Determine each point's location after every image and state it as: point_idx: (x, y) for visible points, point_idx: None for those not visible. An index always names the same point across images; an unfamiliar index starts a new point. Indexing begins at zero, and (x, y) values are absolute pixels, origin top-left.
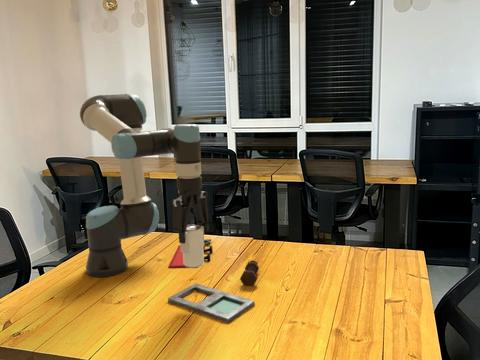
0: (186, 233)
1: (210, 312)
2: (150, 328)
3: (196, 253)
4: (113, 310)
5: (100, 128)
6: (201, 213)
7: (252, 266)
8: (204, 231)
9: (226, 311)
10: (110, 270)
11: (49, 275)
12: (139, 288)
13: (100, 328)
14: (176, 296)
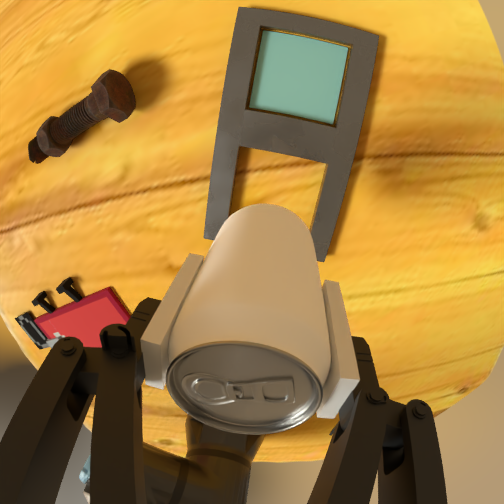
0: (356, 377)
1: (365, 98)
2: (452, 223)
3: (300, 244)
4: (390, 337)
5: None
6: (106, 449)
7: (56, 126)
8: (135, 310)
9: (321, 63)
10: None
11: (285, 459)
12: None
13: (457, 313)
14: None
